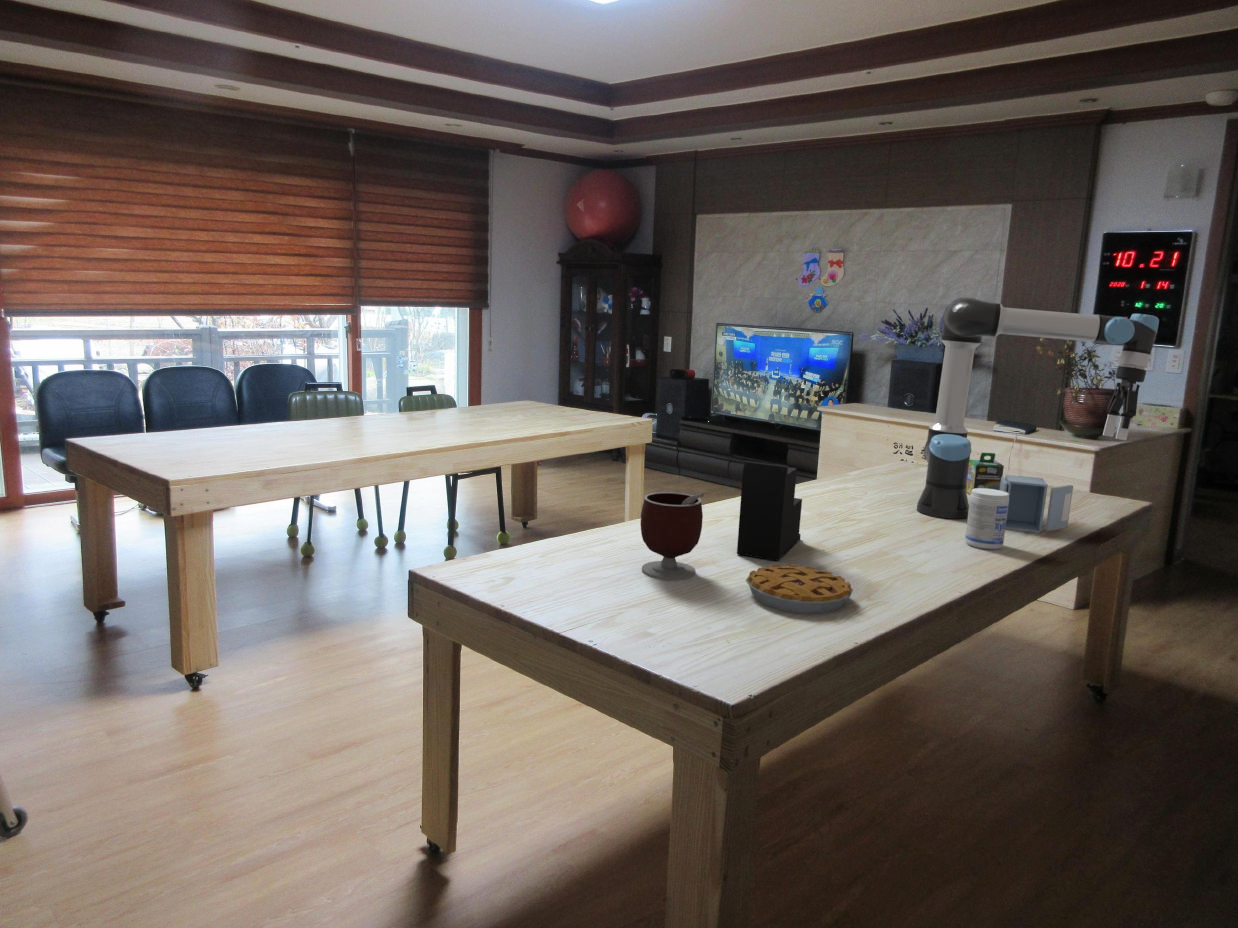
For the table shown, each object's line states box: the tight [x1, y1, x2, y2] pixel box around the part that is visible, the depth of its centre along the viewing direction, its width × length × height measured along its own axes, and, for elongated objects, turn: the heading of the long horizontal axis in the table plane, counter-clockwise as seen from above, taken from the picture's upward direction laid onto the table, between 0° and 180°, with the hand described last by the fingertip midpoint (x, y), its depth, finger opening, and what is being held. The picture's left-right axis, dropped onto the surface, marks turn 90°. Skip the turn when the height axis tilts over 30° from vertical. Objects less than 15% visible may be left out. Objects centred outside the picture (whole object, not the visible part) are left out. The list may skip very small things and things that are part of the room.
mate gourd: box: [640, 491, 705, 581], centre depth 200 cm, size 16×14×20 cm
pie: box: [745, 564, 854, 615], centre depth 188 cm, size 22×22×5 cm
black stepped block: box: [736, 460, 803, 562], centre depth 223 cm, size 23×11×24 cm, turn 156°
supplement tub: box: [964, 488, 1009, 550], centre depth 235 cm, size 10×10×15 cm
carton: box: [1000, 474, 1048, 534], centre depth 257 cm, size 11×10×14 cm
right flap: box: [1045, 484, 1074, 532], centre depth 253 cm, size 10×1×12 cm, turn 123°
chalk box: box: [966, 452, 1005, 496], centre depth 297 cm, size 9×9×15 cm
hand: (1114, 437), depth 265 cm, fingers open, 13 cm apart
